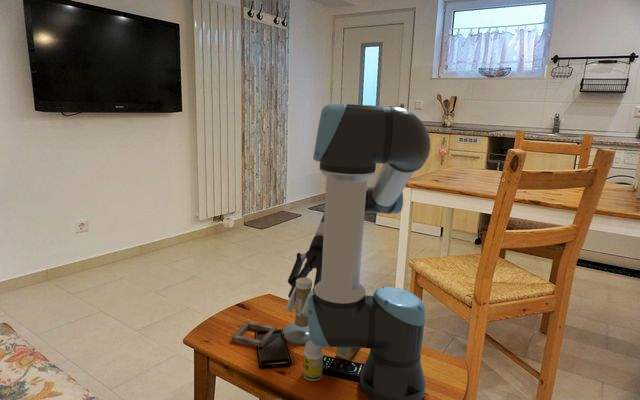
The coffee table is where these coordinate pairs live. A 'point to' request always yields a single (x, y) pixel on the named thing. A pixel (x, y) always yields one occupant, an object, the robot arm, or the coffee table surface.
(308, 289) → the sprinkles bottle
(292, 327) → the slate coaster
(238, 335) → the gray square frame
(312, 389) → the coffee table surface
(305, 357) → the supplement bottle
